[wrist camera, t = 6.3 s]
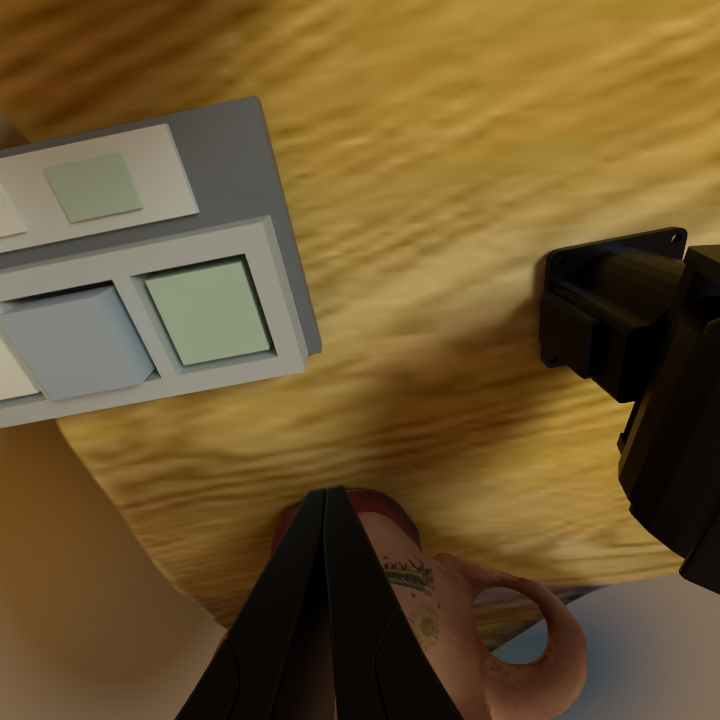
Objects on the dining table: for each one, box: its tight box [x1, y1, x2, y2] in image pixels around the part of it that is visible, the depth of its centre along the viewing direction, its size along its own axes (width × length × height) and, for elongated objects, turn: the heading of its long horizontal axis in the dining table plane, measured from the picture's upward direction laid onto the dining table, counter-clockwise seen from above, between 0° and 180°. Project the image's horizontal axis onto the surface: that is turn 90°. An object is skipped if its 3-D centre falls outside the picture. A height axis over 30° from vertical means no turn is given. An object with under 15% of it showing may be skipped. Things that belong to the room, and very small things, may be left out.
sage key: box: [145, 254, 273, 365], centre depth 17 cm, size 4×4×2 cm
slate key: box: [0, 285, 156, 401], centre depth 16 cm, size 4×4×2 cm
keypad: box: [0, 96, 322, 428], centre depth 17 cm, size 19×11×3 cm, turn 100°
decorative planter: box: [212, 490, 587, 720], centre depth 21 cm, size 20×12×14 cm, turn 115°
